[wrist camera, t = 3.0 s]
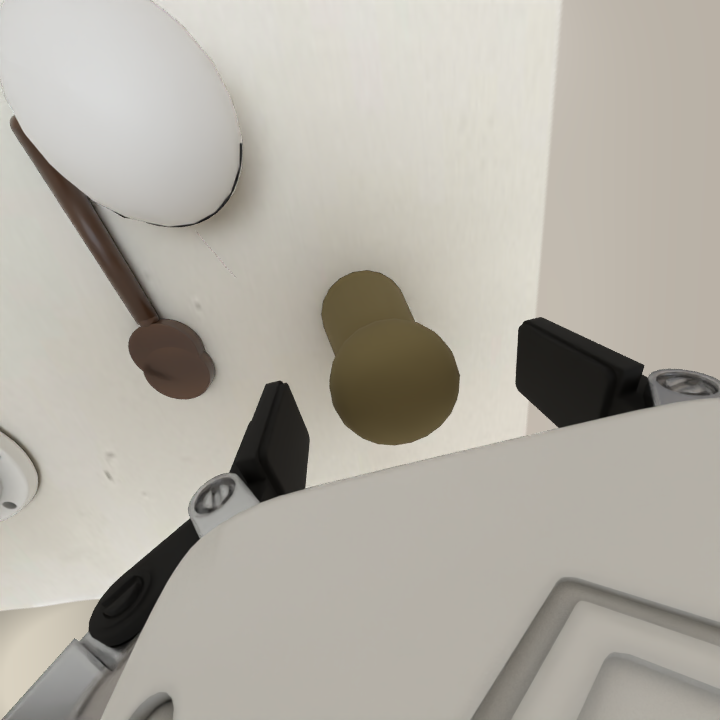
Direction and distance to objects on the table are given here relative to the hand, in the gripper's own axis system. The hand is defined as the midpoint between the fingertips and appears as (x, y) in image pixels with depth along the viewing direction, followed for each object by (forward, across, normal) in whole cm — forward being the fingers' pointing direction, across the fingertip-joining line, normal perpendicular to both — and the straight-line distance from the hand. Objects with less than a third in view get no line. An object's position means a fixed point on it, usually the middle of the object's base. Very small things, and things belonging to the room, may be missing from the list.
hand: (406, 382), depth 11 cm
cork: (+10, +1, 0) cm, 10 cm away
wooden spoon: (+9, +14, -5) cm, 18 cm away
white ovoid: (+10, +8, -10) cm, 16 cm away
